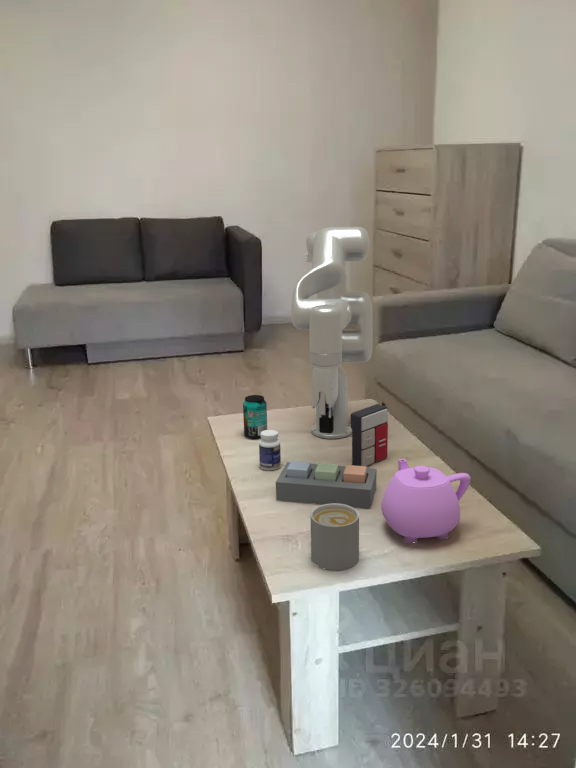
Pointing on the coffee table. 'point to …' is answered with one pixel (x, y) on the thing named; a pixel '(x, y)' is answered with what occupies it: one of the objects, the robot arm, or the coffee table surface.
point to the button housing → (326, 489)
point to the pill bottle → (269, 450)
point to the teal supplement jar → (254, 416)
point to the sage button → (327, 472)
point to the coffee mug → (335, 536)
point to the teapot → (422, 502)
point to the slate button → (299, 469)
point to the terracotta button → (355, 474)
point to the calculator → (369, 435)
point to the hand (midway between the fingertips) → (326, 431)
